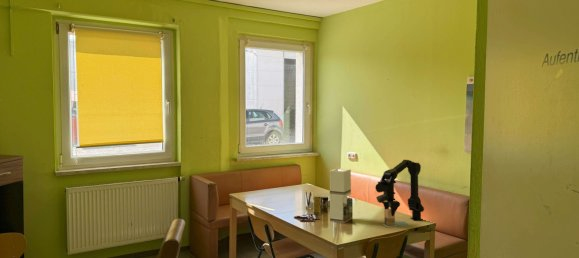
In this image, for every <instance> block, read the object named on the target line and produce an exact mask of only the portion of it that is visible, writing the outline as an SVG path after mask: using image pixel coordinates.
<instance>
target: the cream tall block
mask: <svg viewBox="0 0 579 258" xmlns="http://www.w3.org/2000/svg"><path fill="white" fill-rule="evenodd" d="M351 172H352V170H351V169H349V168H348V169H347V170H339V168H334V169H330V170H329V221H330V222H331V221H335V222H334V223H339V222H341V224H345V223H347V222H349V221H351V220H352V216H349V215H344V208H345V207H347V206H348V204H347V203H348V201H347V200H348V199H347V198H348V196H349V195H351V194H352V179H351V177H352V175H351Z"/></svg>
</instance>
